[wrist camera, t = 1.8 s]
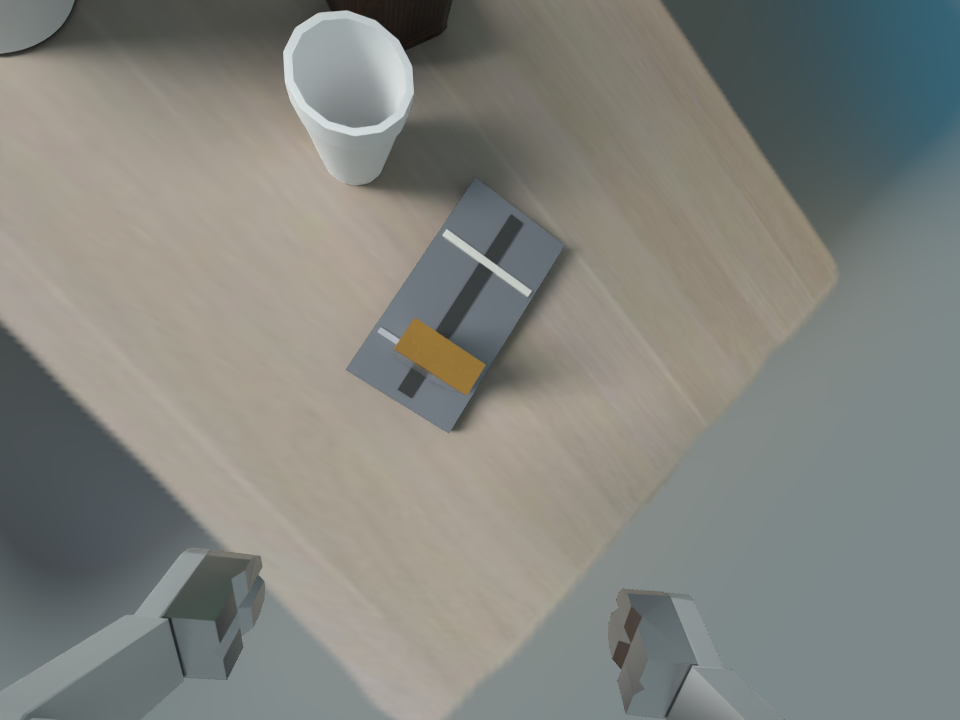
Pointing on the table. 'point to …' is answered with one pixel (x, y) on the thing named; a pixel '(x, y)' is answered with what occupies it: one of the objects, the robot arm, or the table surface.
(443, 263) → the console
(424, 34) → the manual coffee grinder
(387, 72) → the foam cup
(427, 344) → the plate
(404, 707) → the table surface
